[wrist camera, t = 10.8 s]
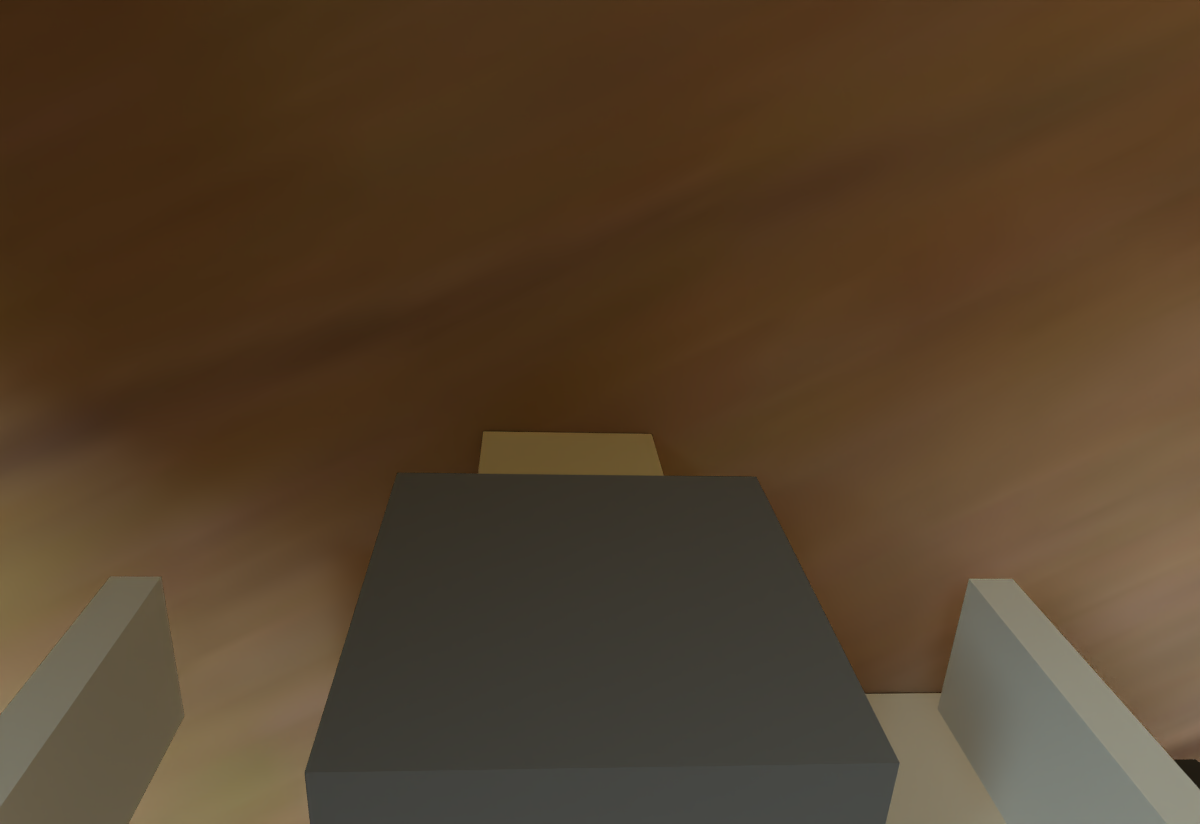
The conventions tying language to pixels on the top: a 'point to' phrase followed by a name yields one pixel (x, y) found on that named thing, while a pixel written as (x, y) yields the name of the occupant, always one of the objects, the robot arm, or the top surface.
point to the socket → (930, 765)
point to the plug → (591, 655)
